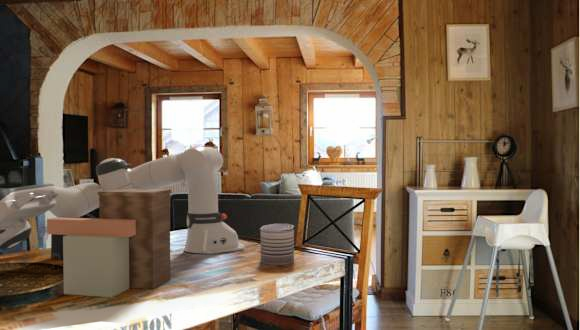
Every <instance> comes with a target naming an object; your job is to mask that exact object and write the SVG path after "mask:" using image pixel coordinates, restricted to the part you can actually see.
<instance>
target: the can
mask: <svg viewBox="0 0 580 330" xmlns="http://www.w3.org/2000/svg"><path fill="white" fill-rule="evenodd" d="M294 227H295V225H293V224H290V223H270V224H266V225H262V226H261V227H260V228H259V230H260V262H261V263H262V264H266V265H270V266H272V265H273V266H277V265H279V266H282V265H287V264H289V265H290V264H292V263H293V262H294V261H295V230H294V229H295V228H294Z"/></svg>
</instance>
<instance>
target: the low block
mask: <svg viewBox="0 0 580 330" xmlns="http://www.w3.org/2000/svg"><path fill="white" fill-rule="evenodd" d="M62 261H63V262H62V263H63V265H62V266H63V268H62V269H63V294H64V295H75V296H87V297H88V296H89V297H101V298H102V297H104V298H113V297H116V296H117V295H120V294H121V293H123V292H126V291H127V290H130V288H129V237H109V236H83V235H66V236H63V259H62Z"/></svg>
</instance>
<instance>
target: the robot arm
mask: <svg viewBox="0 0 580 330" xmlns="http://www.w3.org/2000/svg"><path fill="white" fill-rule="evenodd" d="M131 165H132V164H131V163H127V162H126V160H123V159H122V158H115V157H110V158H106V159H104V160H102V161H101V162H99V164H97V165H96V166H95V171H96V172H95V174H96V176H97V178H98V182H99V184H98V183H96V182H86V183H80V184H75V185H73V186H70V187H61V186H57V185H55V184H53V183H38V184H33V185H32V184H31V185H24V186H18V187H11V188H10V187H8V188H7V187H6V188H4V187H3V188H2V187H0V250H11V249H14V248H15V247H17V246H19V245H20V244H21V243H23V242H24V241H26V240H27V239H28V238H29V237H30V235H31V234H32V233H31V232H32V227H31V225H30V222H29V221H28V219H32V218H36V217H37V218H38V217H39V216H41V215H44V214H46V213H47V212H48V211H49V212H50V213H51V214H52V215H54V216H55V217H60V218H82V217H83V216H85V215H88V214H89V213H90V212H93V211H94V210H96V209H98V208H99V195H98V193H97V191H105V190H113V189H164V188H166V187H170V186H174V185H176V184H181V183H186V184H185V185H186V188H187V197H188V198H187V201H188V203H187V204H188V205H187V206H188V209H187V210H188V211H187V215H186V226H187V235H186V240H185V246H184V249H183V251H184V252H186V253H187V252H188V253H192V254H193V253H194V254H202V255H203V254H205V255H213V254H221V253H229V252H234V251H235V252H236V251H242V250H245V245H244V244H243V243H241V242H239V236H238V234H237V231H236V230H234V228H232V227H230V225H228V224H227V223H226V222H224V220H226V219H227V218H228V215H227V214H226V213H221V212H219V192H218V188H217V186H216V183H215V182H216V181H215V177H214V176H215V174H216V173H218V172H219V171H220V170H221V169H222V167H223V166H224V157H223V155H222V153H221V152H220V151H219V150H218V149H216V148H214V147H211V146H198V145H197V146H196V145H195V146H192V147H189V148H188V149H186V150H185V151H183V152H179V153H175V154H171V155H167V156H164V157H161V158H160V157H159V158H157V159H154V160H151V161H150V160H149V161H147V162H144V163H142V164H140V165H139V164H138V166H135V167H133V168H130V167H129V166H131Z"/></svg>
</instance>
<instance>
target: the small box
mask: <svg viewBox="0 0 580 330" xmlns="http://www.w3.org/2000/svg"><path fill="white" fill-rule="evenodd" d="M63 236H66V235H58V234H50V239H51V240H50V241H51V242H50V253H51V254H50V258H53V259H55V260H62V261H63Z"/></svg>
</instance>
